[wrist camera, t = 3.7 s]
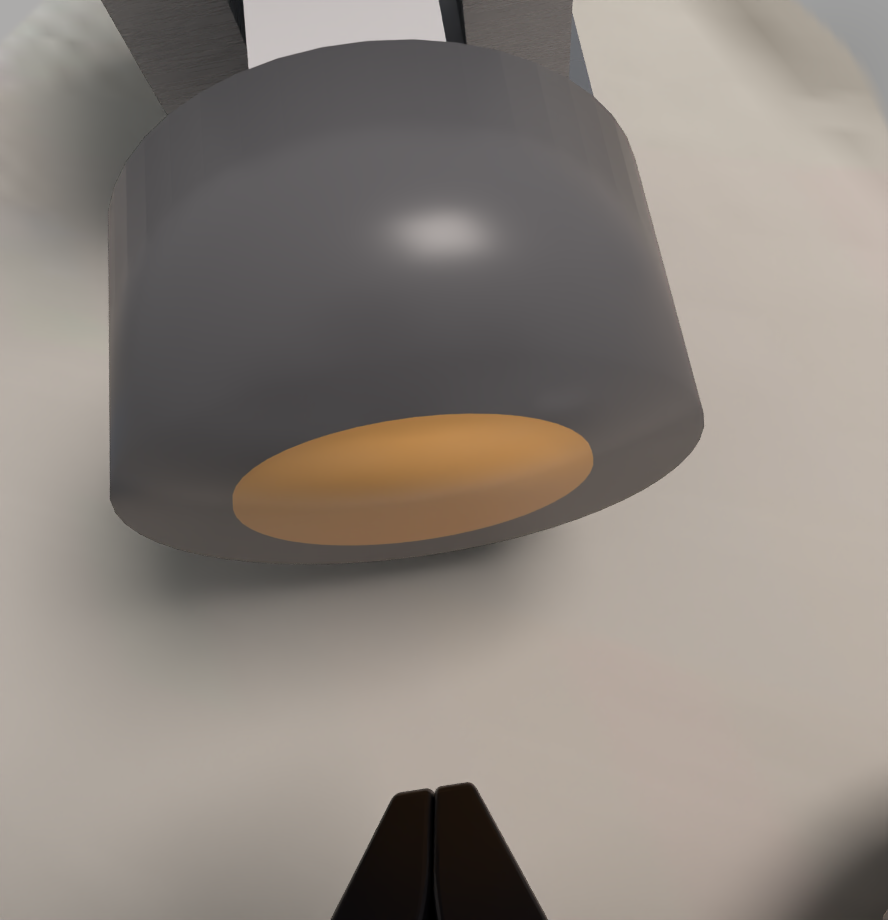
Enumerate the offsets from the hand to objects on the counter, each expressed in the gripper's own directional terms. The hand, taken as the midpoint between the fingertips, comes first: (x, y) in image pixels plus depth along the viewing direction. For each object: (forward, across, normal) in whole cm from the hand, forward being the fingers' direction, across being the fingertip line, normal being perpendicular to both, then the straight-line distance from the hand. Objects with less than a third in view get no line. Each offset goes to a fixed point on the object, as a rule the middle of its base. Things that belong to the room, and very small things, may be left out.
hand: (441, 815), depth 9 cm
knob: (+12, 0, -3) cm, 12 cm away
